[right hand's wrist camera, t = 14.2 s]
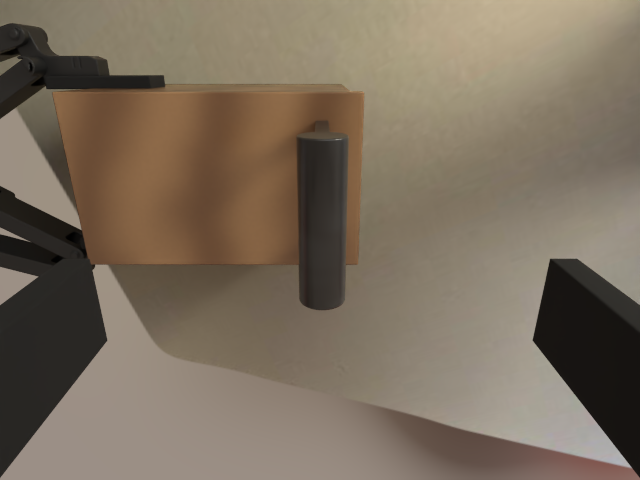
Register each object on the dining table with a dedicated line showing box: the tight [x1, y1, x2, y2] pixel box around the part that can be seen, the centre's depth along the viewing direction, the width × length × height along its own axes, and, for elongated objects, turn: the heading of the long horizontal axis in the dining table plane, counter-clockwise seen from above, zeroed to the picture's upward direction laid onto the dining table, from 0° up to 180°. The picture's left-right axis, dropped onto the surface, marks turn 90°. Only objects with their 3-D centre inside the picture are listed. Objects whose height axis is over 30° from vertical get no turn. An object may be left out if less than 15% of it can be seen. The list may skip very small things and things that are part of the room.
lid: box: [52, 91, 364, 310], centre depth 22 cm, size 17×10×9 cm, turn 90°
